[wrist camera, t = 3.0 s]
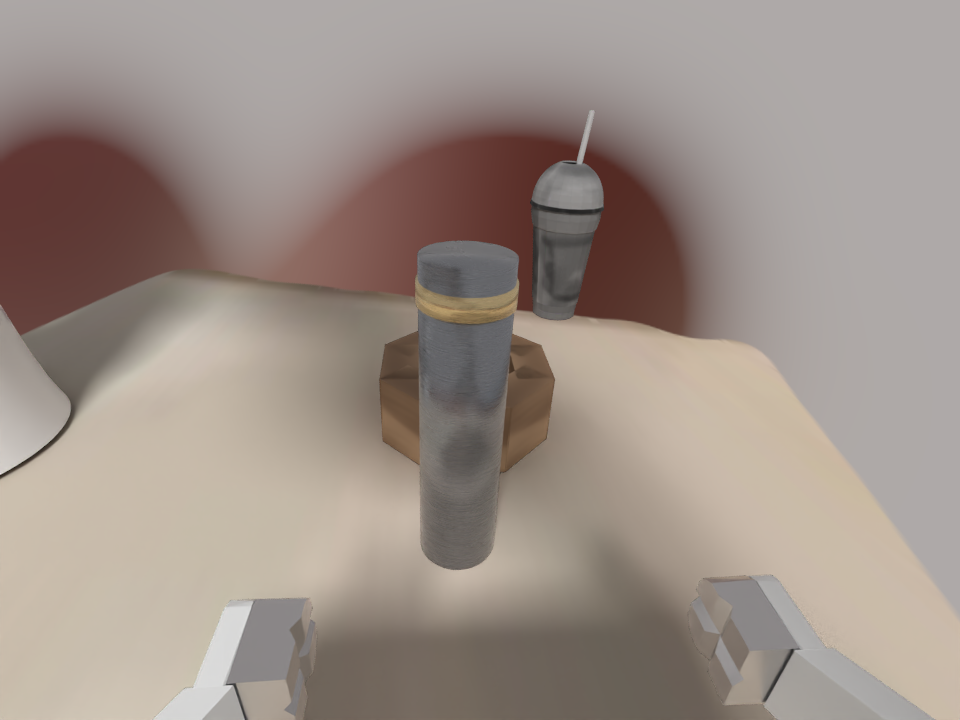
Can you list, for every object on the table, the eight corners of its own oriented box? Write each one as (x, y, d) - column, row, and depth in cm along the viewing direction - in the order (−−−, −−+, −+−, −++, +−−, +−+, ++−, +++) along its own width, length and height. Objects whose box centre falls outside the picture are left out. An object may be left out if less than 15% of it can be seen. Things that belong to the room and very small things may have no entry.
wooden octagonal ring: (378, 474, 32) (374, 409, 30) (390, 379, 42) (388, 324, 40) (556, 470, 33) (566, 407, 31) (527, 379, 43) (533, 325, 41)
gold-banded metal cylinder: (418, 572, 26) (413, 272, 18) (419, 511, 30) (416, 239, 22) (499, 569, 26) (529, 274, 19) (491, 509, 30) (513, 241, 22)
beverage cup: (520, 296, 59) (538, 105, 50) (582, 301, 59) (613, 109, 49) (519, 322, 53) (540, 109, 43) (590, 328, 53) (626, 114, 43)
